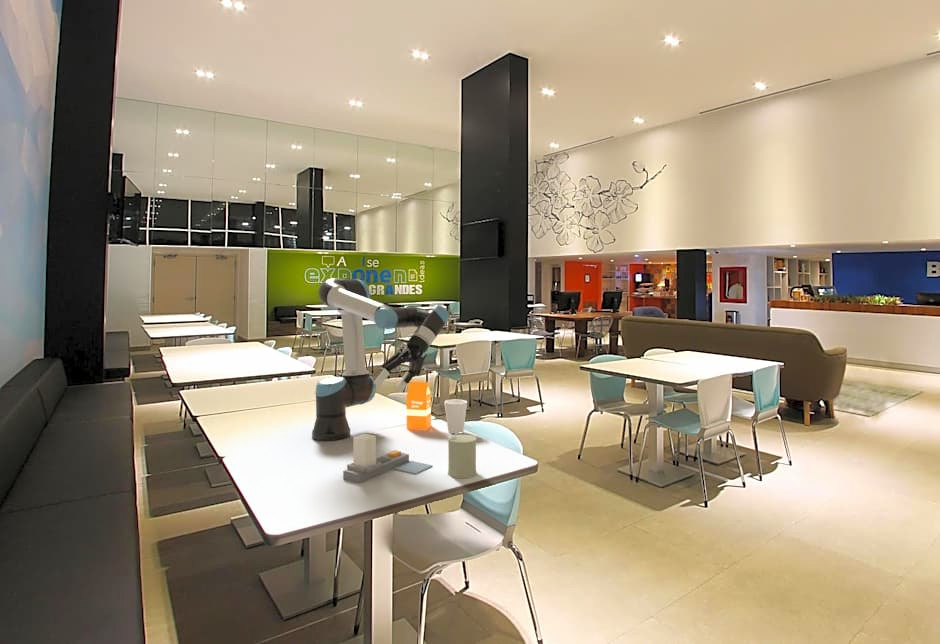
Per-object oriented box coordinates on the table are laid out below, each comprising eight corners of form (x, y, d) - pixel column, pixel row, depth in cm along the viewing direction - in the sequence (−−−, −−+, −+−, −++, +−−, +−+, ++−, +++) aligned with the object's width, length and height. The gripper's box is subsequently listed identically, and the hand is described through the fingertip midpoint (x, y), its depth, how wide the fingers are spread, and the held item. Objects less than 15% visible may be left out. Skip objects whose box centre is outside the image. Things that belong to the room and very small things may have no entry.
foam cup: (464, 435, 208) (464, 404, 207) (442, 434, 210) (442, 403, 209) (468, 429, 217) (468, 399, 217) (447, 428, 219) (447, 398, 218)
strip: (342, 478, 160) (342, 466, 159) (392, 457, 180) (392, 447, 180) (360, 483, 155) (360, 471, 155) (409, 461, 176) (409, 451, 176)
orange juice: (426, 430, 217) (425, 383, 216) (406, 429, 218) (406, 383, 217) (431, 425, 224) (431, 380, 223) (412, 424, 226) (411, 380, 225)
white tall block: (353, 468, 162) (353, 437, 161) (364, 463, 166) (364, 433, 165) (365, 471, 159) (364, 439, 158) (376, 466, 163) (375, 435, 163)
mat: (394, 469, 168) (394, 468, 168) (411, 461, 175) (411, 460, 175) (415, 474, 163) (415, 473, 163) (432, 466, 171) (432, 465, 171)
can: (447, 468, 169) (447, 433, 168) (474, 468, 169) (475, 432, 169) (448, 478, 159) (448, 441, 159) (477, 478, 160) (477, 440, 159)
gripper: (448, 349, 178) (415, 398, 168) (406, 346, 196) (374, 389, 186) (436, 335, 174) (402, 384, 164) (394, 333, 192) (361, 377, 183)
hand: (387, 387), depth 175 cm, fingers open, 13 cm apart
